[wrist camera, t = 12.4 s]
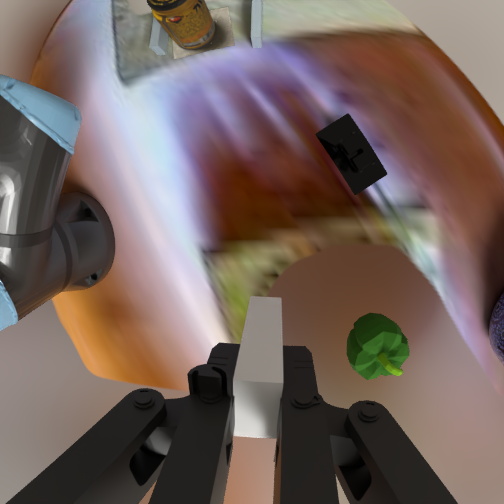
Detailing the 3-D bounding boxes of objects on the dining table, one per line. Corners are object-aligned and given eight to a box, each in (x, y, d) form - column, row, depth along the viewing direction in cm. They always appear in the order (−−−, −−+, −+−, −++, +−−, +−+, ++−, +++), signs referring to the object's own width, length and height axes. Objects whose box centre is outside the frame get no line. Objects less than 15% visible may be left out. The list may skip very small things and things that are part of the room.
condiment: (170, 21, 32) (139, -20, 20) (228, 7, 31) (212, -41, 19) (174, 60, 33) (139, 24, 22) (234, 46, 32) (219, 1, 21)
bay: (158, 55, 33) (149, 46, 30) (169, -16, 30) (162, -26, 26) (262, 47, 32) (260, 36, 29) (263, -24, 29) (262, -37, 25)
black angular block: (302, 127, 35) (305, 121, 31) (346, 100, 34) (355, 92, 29) (354, 207, 37) (364, 212, 33) (396, 179, 36) (410, 180, 31)
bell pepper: (330, 327, 41) (343, 367, 31) (376, 294, 39) (401, 327, 30) (357, 362, 42) (373, 403, 33) (400, 332, 41) (425, 368, 31)
